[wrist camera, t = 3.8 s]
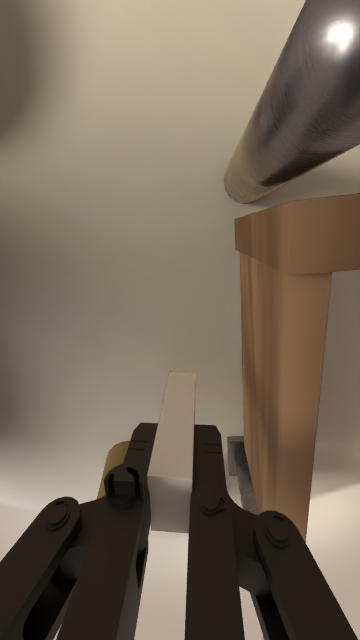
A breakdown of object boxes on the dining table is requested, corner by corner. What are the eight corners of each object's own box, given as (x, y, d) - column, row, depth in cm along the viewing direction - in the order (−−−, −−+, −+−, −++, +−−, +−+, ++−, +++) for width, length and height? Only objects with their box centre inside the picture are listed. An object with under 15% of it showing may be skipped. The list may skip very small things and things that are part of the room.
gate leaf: (241, 446, 24) (274, 614, 13) (234, 219, 17) (291, 201, 7) (262, 445, 23) (314, 616, 13) (264, 216, 17) (371, 192, 7)
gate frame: (228, 470, 26) (260, 715, 13) (212, 158, 17) (267, -107, 4) (272, 469, 26) (350, 722, 12) (280, 149, 16) (619, -188, 3)
